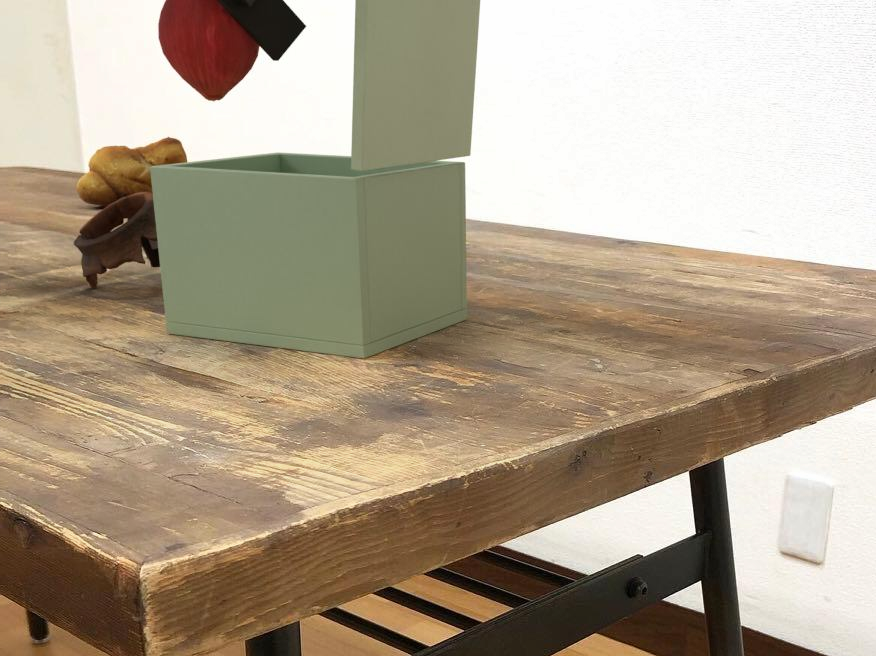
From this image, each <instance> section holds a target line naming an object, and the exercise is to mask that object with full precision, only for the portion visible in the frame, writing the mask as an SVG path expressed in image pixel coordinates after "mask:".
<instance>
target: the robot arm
mask: <svg viewBox="0 0 876 656" xmlns="http://www.w3.org/2000/svg"><path fill="white" fill-rule="evenodd" d="M217 1H218V2H219V3H220V4H221V5H222V6H223V7H224V8H225V9H226V11H227V12H228V13H229V14H230V15H231V16H232V17H233V18H234V19H235V20H236V21H237V22H238V23H239V24H240V26H241V27H242V28H243V29H244V30H245V31H246V32H247V33H248V34H249V35H250V36H251V37H252V38H253V39H254V41H255V42H256V43H257V44H258V45H259V48H261V49H262V50H263V52H264V53H265V54H266V55H267V56H268V57H269V58H270V59H271V60H272V61H273V62H274V61H276V62H279V60H280V59H281V58H282V57H283V56H284V55H285V53H286V52H287V51H288V50H289V48H290V47H291V46H292V45H293V44H294V42H295V41H296V40H297V39H298V37H299V36H300V35H301V34H302V33H303V31H304V30H305V29H306V28H307V25H306V24H305V23H304V22H303V20H302V19H301V18H300V17H299V16H298V15H297V14H296V13H295V12H294V10H292V8H291V7H290V6H289V5H288V4H287V3H286V1H285V0H217Z"/></svg>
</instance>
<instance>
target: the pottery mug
mask: <svg viewBox="0 0 876 656" xmlns="http://www.w3.org/2000/svg"><path fill="white" fill-rule="evenodd" d="M125 219H127V221H124V220H125ZM73 246H75V247H76V248H77V249H78V250H79V252H80V253H81V260H80V261H81V270H82V277H83V278H85V282H87V283H88V284H89V286H90V288H93V289H96V288H97V287H98V281H99V280H98V275H103V274H105V273H107V271H108V270H114V269H118V268H119V267H121V266H122V265H124V264H127V263H131V262H134V263H138V264H142V265H145V264H146V262H147V261H146V260H145V259H144V255H143V251H144V254H145V256H146V258H147V260H148V261H149V263H150V266H151V268H160V260H159V250H158V240H157V230H156V221H155V211H154V201H153V194H152V193H149V192H139V193H135V194H132V195H129V196H127V197H123V198H121V199H119V200H117V201H116V202H113V203H111V204H109V205H108V206H104V208H103V209H101V210H100V211H98V212H97V213H96V214H95V215H93V217H91V218H90V219H89V220H87V221H86V223H85V224H84V225H83V226H81V228H80V229H79V233H78V235H77V236H76V239H74V241H73Z"/></svg>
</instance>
